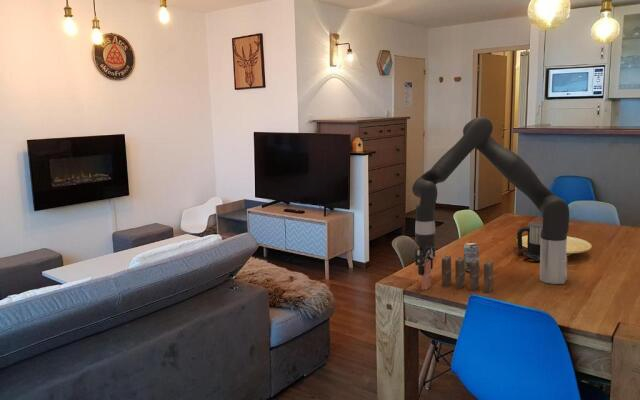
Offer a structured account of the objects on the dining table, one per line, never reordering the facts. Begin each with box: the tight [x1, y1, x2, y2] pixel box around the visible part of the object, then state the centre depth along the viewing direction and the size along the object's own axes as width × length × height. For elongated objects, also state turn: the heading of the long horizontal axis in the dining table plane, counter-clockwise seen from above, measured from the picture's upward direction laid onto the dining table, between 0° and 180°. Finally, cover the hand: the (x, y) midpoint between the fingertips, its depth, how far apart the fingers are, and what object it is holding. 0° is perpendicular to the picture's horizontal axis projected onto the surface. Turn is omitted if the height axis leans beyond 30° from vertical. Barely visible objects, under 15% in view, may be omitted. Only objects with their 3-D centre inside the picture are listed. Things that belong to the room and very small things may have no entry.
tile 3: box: [454, 256, 466, 289], centre depth 199 cm, size 2×5×11 cm, turn 146°
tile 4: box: [441, 255, 452, 287], centre depth 202 cm, size 2×5×11 cm, turn 146°
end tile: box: [420, 259, 432, 291], centre depth 199 cm, size 2×5×11 cm, turn 146°
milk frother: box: [516, 221, 543, 262], centre depth 230 cm, size 14×16×15 cm
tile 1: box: [483, 260, 494, 294], centre depth 193 cm, size 2×5×11 cm, turn 146°
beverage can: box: [463, 242, 480, 272], centre depth 217 cm, size 6×7×12 cm
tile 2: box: [469, 258, 480, 292], centre depth 196 cm, size 2×5×11 cm, turn 146°
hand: (425, 271), depth 199 cm, fingers open, 8 cm apart
